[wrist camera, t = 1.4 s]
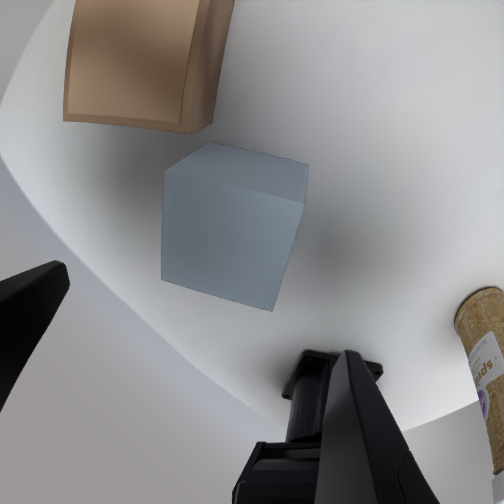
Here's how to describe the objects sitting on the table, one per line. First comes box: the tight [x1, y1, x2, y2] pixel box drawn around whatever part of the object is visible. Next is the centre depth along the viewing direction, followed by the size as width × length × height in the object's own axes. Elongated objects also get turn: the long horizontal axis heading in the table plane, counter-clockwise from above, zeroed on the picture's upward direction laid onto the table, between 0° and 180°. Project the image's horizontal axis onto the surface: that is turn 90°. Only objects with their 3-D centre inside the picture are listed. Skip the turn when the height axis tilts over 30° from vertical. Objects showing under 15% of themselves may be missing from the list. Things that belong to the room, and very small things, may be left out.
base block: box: [63, 0, 234, 134], centre depth 11 cm, size 7×7×3 cm
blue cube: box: [161, 142, 309, 312], centre depth 13 cm, size 5×5×5 cm
